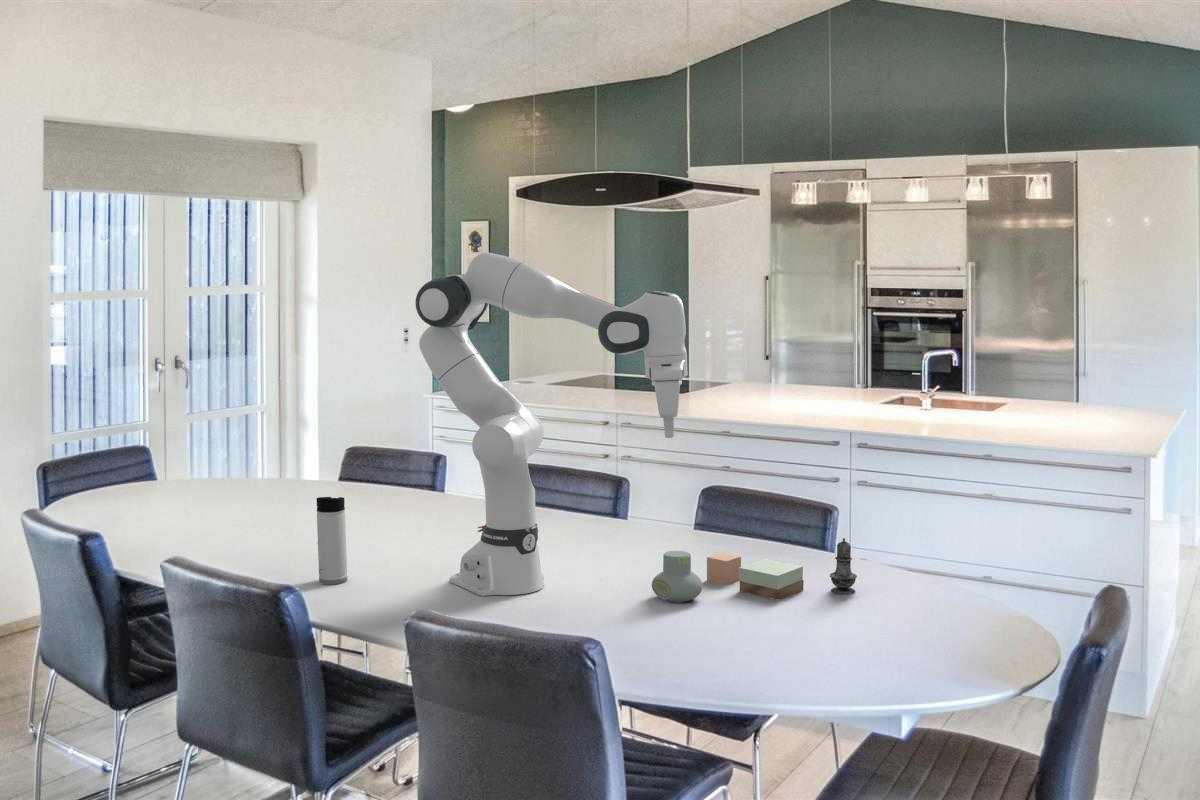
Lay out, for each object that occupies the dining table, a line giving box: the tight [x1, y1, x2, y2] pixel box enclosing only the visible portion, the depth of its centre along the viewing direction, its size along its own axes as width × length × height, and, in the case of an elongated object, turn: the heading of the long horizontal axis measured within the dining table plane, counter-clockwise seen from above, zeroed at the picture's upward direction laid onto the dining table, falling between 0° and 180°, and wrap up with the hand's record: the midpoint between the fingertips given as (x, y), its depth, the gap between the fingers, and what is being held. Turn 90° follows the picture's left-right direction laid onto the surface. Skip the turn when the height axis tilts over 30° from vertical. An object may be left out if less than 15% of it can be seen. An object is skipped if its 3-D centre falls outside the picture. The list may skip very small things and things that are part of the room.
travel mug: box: [316, 496, 348, 586], centre depth 263 cm, size 6×7×20 cm
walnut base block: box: [739, 579, 805, 601], centre depth 254 cm, size 10×10×3 cm
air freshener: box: [651, 550, 704, 604], centre depth 248 cm, size 11×8×10 cm
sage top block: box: [739, 558, 804, 589], centre depth 254 cm, size 10×10×3 cm
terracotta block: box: [706, 552, 742, 586], centre depth 263 cm, size 6×6×6 cm
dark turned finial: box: [829, 537, 858, 596], centre depth 253 cm, size 6×6×12 cm
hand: (668, 434), depth 242 cm, fingers open, 8 cm apart
